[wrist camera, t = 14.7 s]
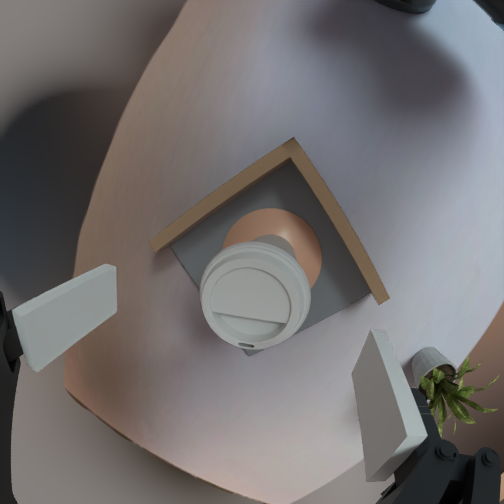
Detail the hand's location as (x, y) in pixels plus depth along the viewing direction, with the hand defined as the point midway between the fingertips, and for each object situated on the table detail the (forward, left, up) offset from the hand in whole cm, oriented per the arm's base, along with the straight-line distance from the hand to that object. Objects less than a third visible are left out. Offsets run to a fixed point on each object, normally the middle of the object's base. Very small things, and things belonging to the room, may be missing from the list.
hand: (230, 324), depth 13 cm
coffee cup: (+2, +2, -24) cm, 24 cm away
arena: (+2, +2, -24) cm, 24 cm away
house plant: (-12, +30, -24) cm, 40 cm away
